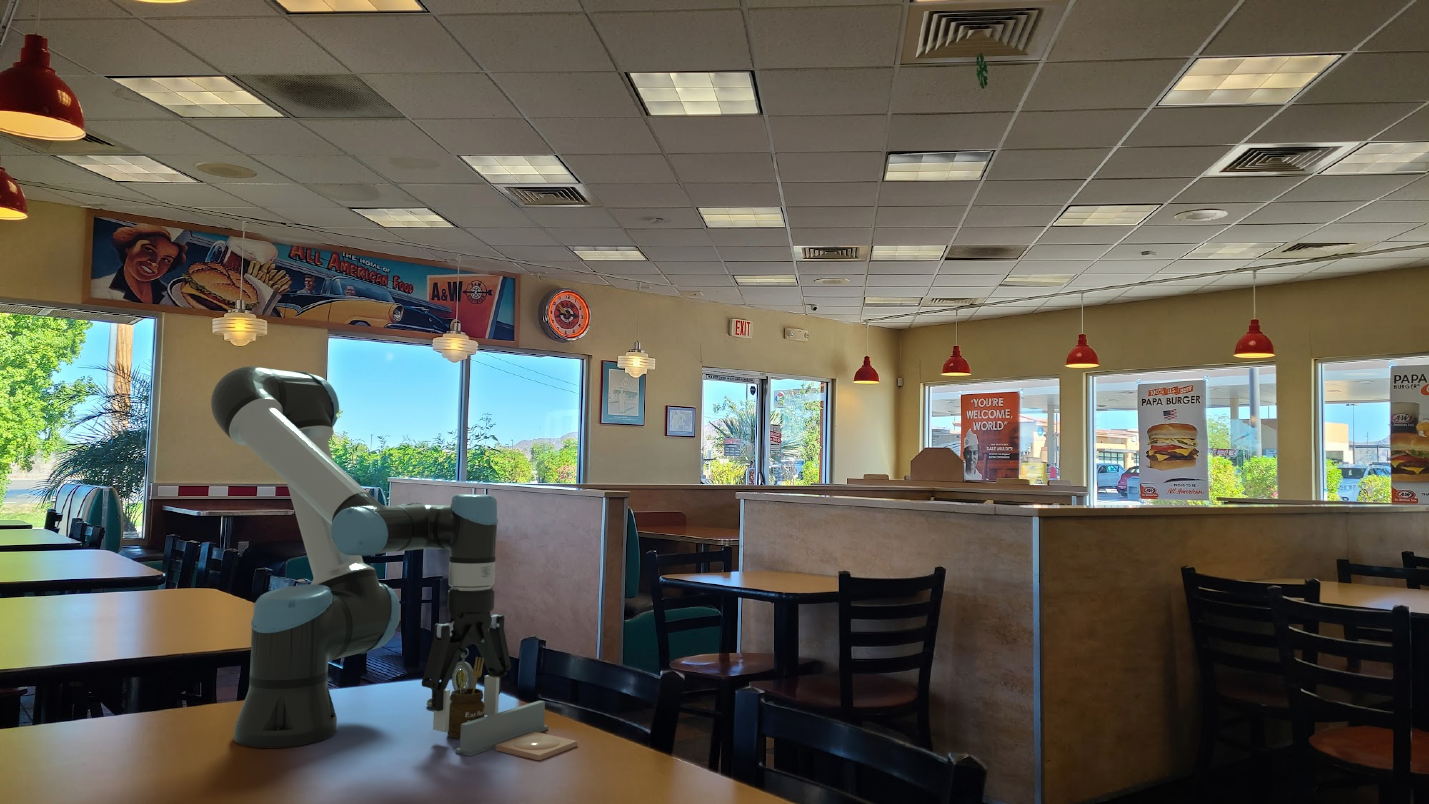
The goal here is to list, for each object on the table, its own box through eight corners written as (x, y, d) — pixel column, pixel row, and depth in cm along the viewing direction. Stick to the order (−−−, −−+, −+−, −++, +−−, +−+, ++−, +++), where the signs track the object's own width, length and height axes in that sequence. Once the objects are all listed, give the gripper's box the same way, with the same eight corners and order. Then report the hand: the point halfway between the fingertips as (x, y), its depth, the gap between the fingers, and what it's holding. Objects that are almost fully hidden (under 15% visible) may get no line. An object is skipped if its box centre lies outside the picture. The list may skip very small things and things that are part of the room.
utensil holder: (438, 737, 154) (442, 662, 154) (463, 727, 160) (466, 655, 160) (468, 741, 151) (471, 666, 152) (492, 731, 157) (495, 658, 158)
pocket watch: (420, 709, 170) (422, 653, 171) (440, 698, 179) (443, 644, 179) (462, 712, 169) (464, 655, 170) (481, 701, 177) (483, 647, 178)
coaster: (495, 750, 147) (495, 744, 147) (534, 736, 155) (534, 731, 155) (539, 760, 143) (539, 754, 143) (577, 746, 150) (577, 740, 150)
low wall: (455, 752, 146) (456, 723, 146) (534, 726, 161) (535, 699, 161) (469, 756, 144) (470, 726, 144) (548, 729, 159) (548, 702, 160)
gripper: (434, 596, 145) (428, 743, 144) (535, 582, 165) (531, 711, 163) (401, 592, 149) (395, 735, 148) (503, 579, 169) (499, 705, 167)
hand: (466, 722), depth 156 cm, fingers open, 10 cm apart
